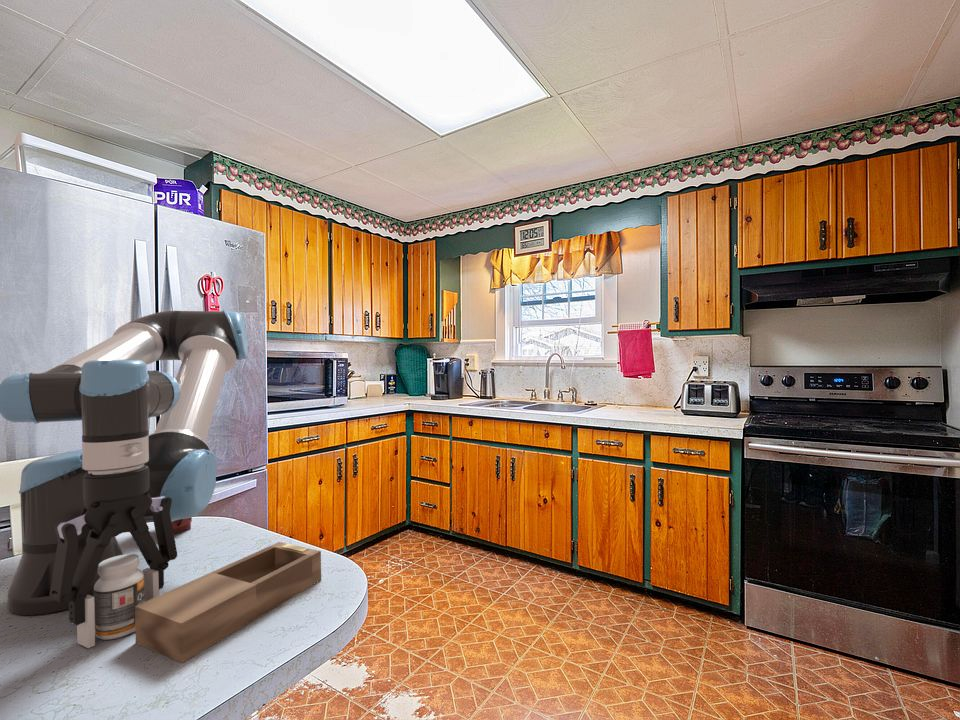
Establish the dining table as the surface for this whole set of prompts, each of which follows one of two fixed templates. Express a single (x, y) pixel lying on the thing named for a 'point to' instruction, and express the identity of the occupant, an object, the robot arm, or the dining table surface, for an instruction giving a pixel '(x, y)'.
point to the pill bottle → (117, 596)
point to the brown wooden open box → (224, 600)
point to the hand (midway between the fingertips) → (120, 627)
